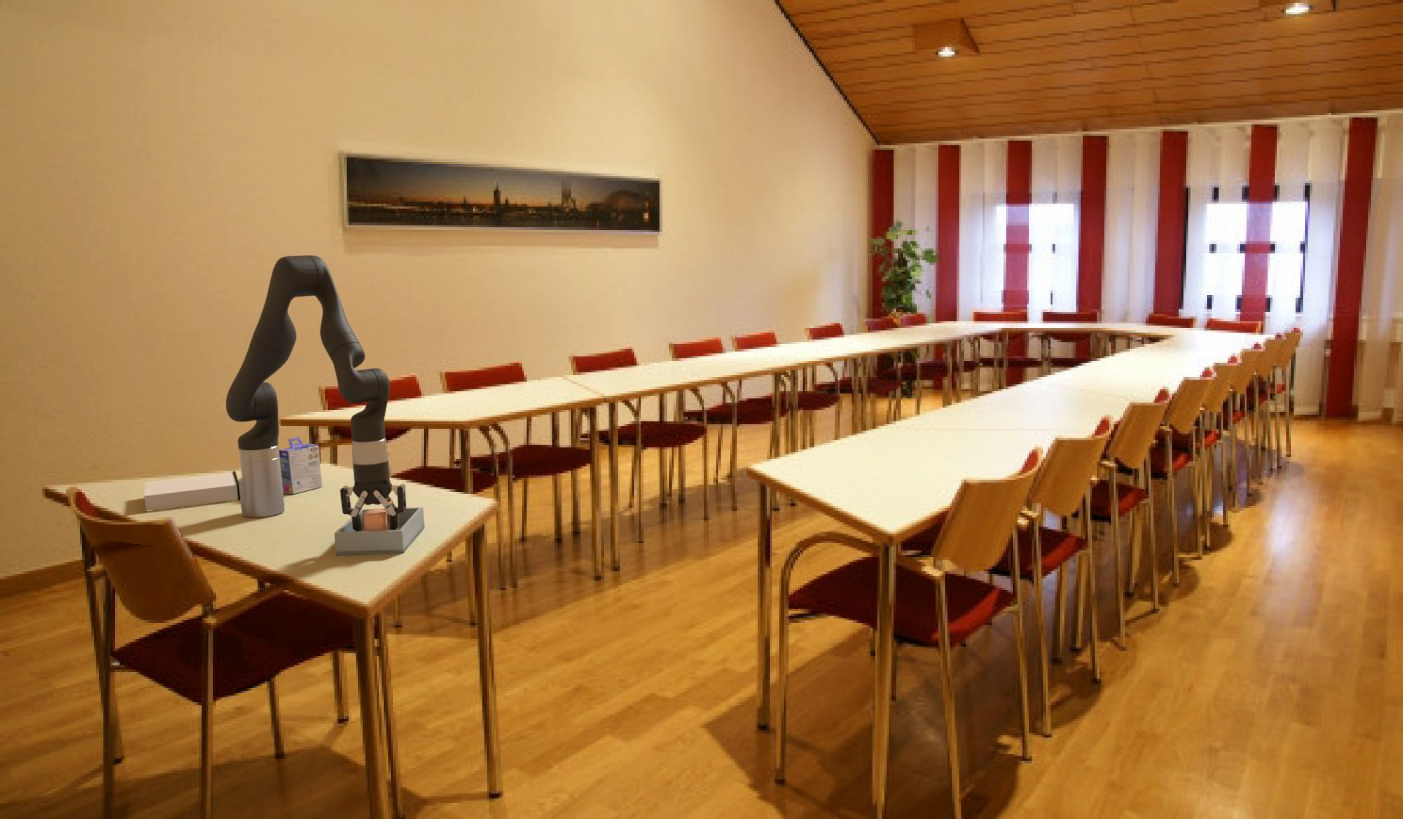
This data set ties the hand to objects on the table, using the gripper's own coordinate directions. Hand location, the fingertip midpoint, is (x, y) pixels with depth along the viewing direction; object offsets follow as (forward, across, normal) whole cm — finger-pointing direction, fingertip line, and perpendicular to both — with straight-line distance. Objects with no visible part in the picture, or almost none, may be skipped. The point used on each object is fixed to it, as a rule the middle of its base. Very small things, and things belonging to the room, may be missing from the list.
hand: (376, 531), depth 224 cm
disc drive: (+4, -63, +50) cm, 80 cm away
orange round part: (+3, 0, 0) cm, 3 cm away
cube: (+3, 0, +8) cm, 8 cm away
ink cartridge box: (+4, -36, +56) cm, 67 cm away
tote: (+3, 0, +4) cm, 5 cm away
